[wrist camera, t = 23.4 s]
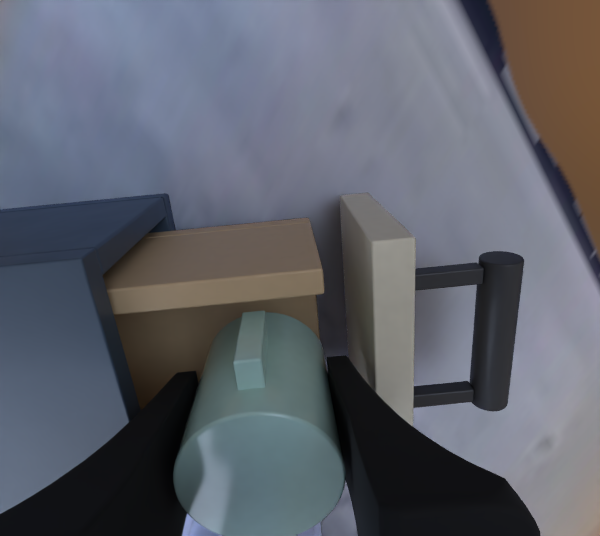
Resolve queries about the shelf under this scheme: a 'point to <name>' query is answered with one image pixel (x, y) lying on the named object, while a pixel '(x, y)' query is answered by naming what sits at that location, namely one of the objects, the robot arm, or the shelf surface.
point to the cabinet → (63, 335)
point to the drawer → (309, 301)
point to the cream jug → (261, 432)
